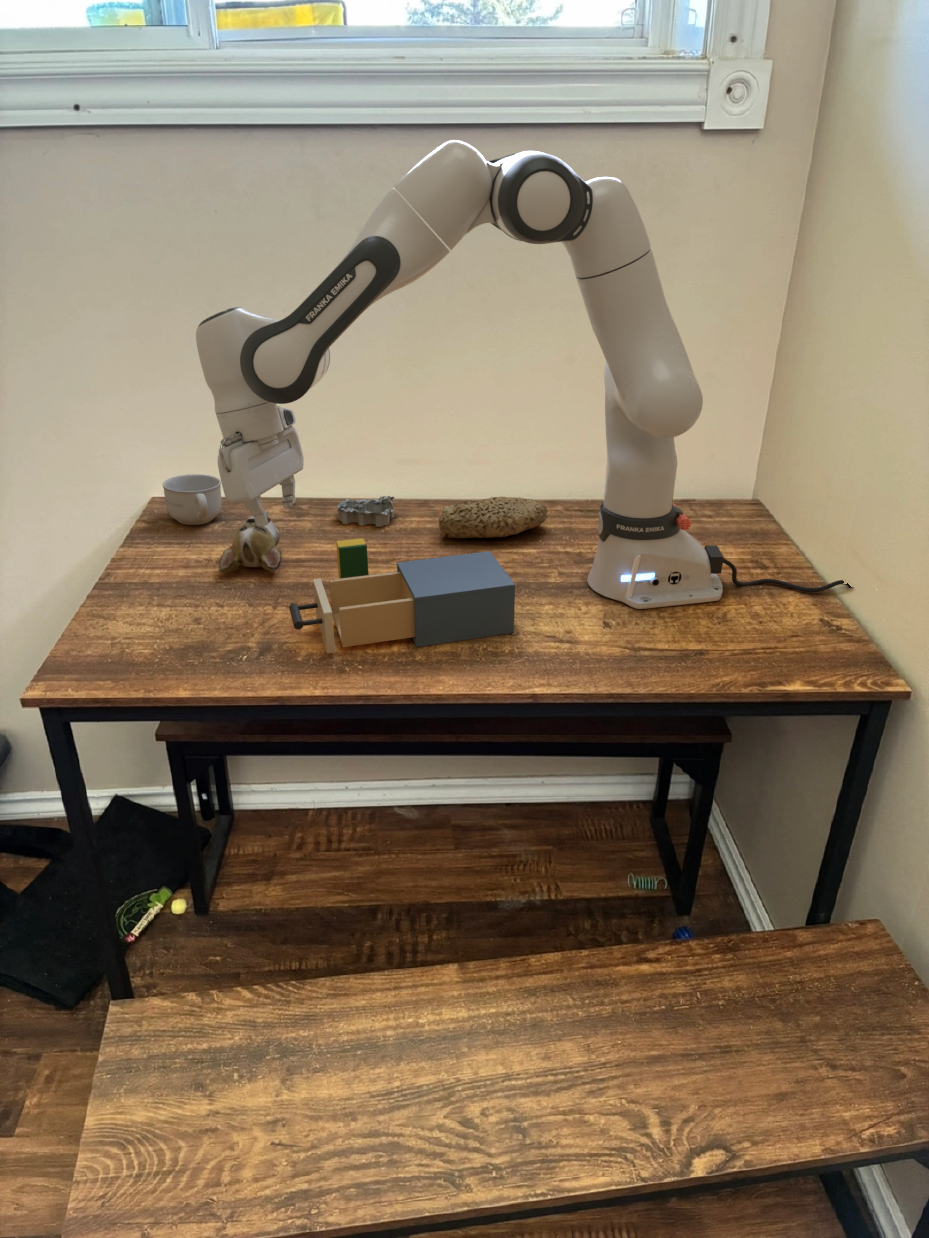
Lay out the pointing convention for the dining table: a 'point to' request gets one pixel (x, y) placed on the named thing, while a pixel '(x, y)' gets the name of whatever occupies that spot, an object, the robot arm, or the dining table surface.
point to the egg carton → (367, 511)
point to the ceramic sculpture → (253, 548)
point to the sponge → (491, 517)
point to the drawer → (361, 610)
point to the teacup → (193, 498)
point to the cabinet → (459, 597)
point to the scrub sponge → (352, 558)
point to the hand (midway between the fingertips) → (277, 515)
